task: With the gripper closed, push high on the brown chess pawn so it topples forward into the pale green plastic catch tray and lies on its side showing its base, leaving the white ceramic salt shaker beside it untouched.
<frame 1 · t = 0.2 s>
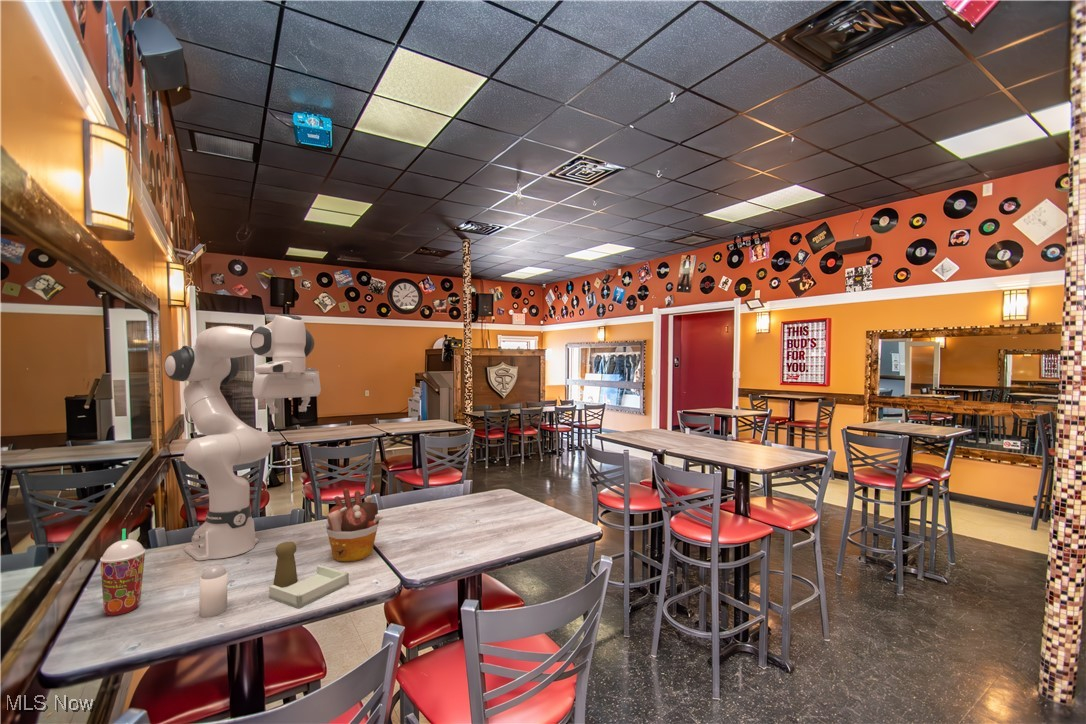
hand: (288, 412, 139), 47 cm above the table, fingers open, 8 cm apart
brown chess pawn: (285, 583, 129), on the table
bucket of meat: (352, 555, 148), on the table
smoothie: (122, 610, 114), on the table
salt shaker: (213, 611, 113), on the table
catch tray: (310, 590, 124), on the table
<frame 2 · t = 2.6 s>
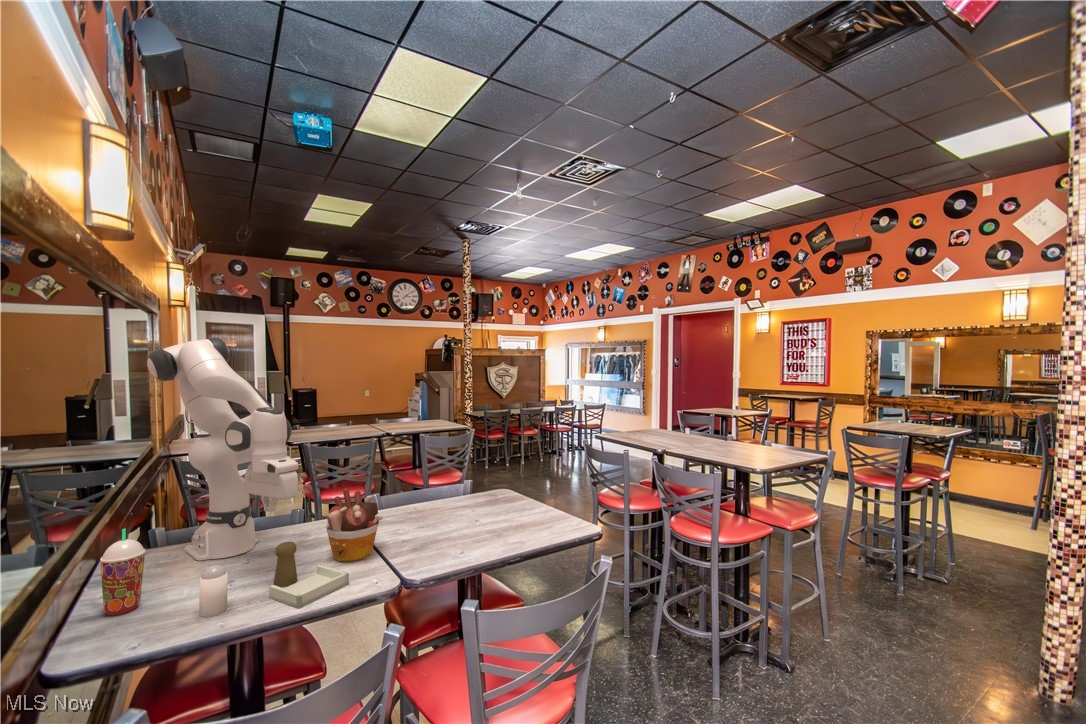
hand: (270, 511, 133), 19 cm above the table, fingers closed
nothing on the table moved.
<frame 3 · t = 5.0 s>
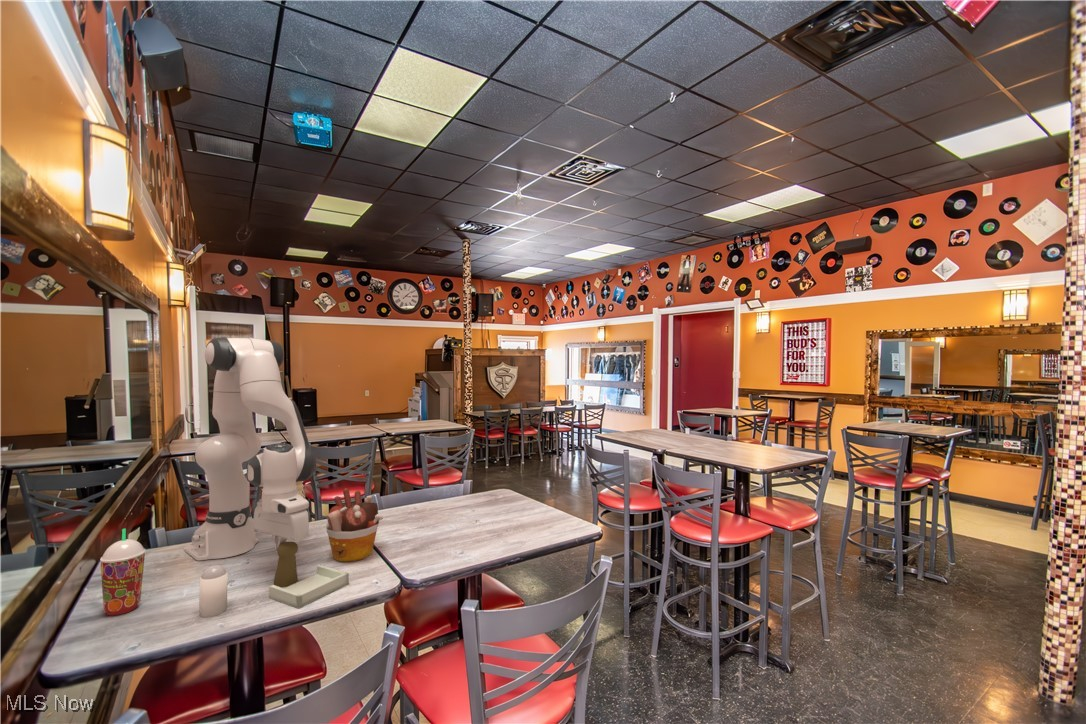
hand: (279, 550, 130), 8 cm above the table, fingers closed
brown chess pawn: (285, 582, 129), on the table, touching gripper
everything else where it was.
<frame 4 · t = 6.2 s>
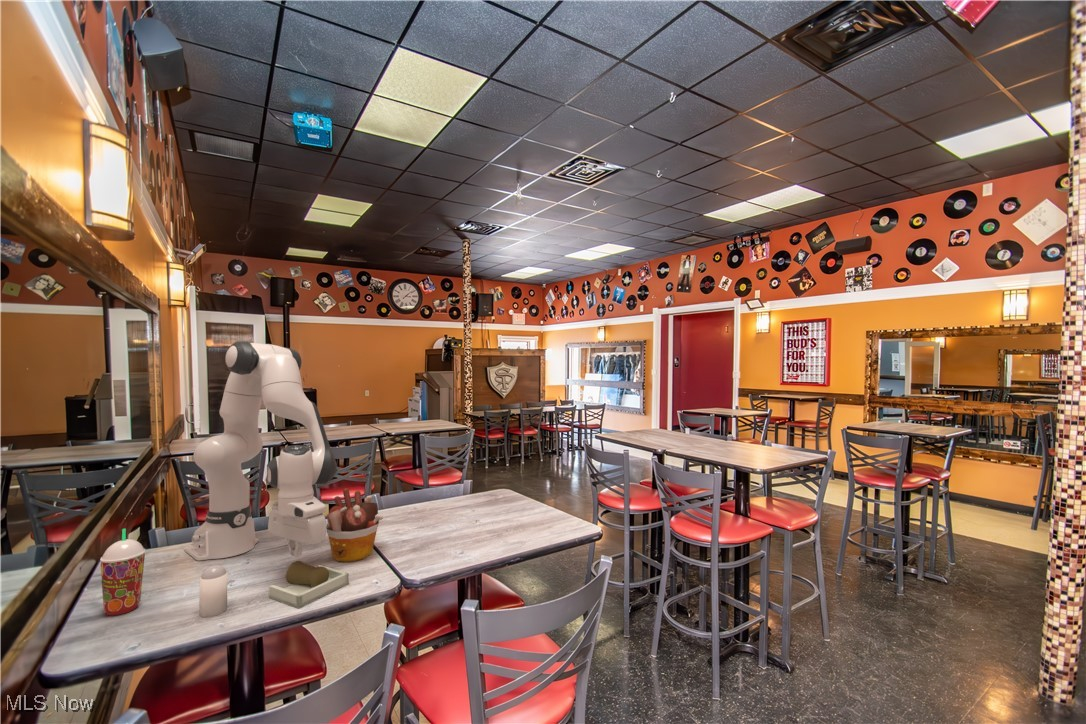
hand: (295, 555, 127), 8 cm above the table, fingers closed
brown chess pawn: (294, 572, 128), point 3 cm above the table, touching catch tray
everything else where it was.
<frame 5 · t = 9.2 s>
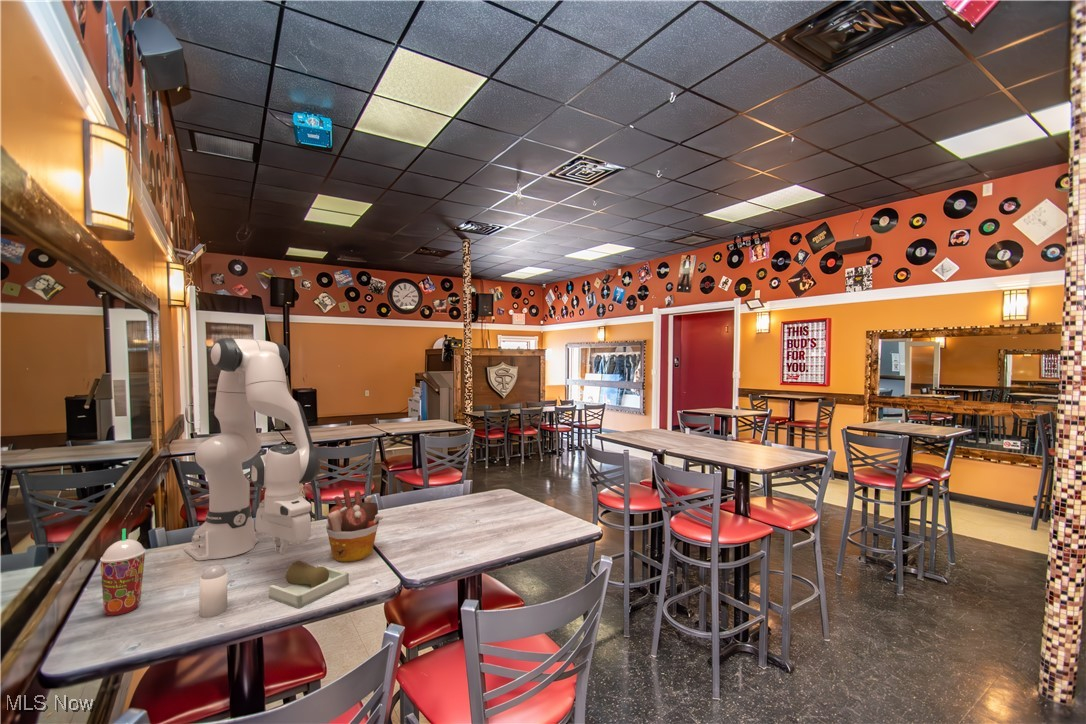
hand: (281, 552, 129), 8 cm above the table, fingers closed
nothing on the table moved.
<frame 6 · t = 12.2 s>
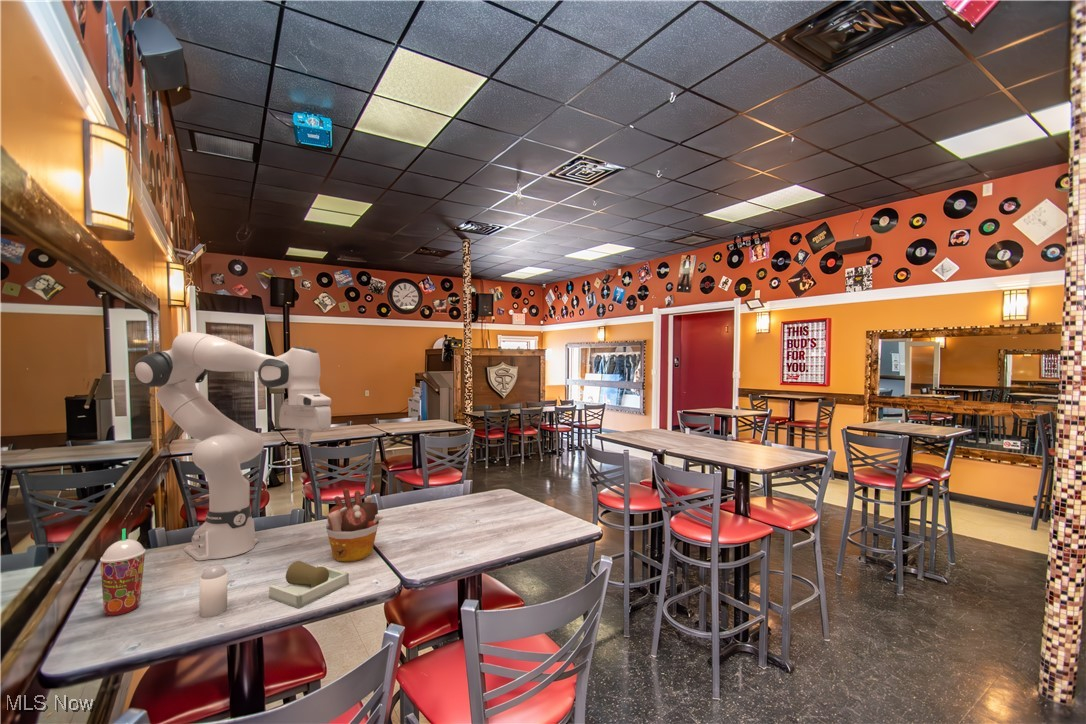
hand: (303, 443, 142), 37 cm above the table, fingers closed
nothing on the table moved.
at the end: brown chess pawn tilted 87°; brown chess pawn inside the target area (6.5 cm from its centre), point 3.0 cm above the table; salt shaker moved 0.0 cm from its start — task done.
